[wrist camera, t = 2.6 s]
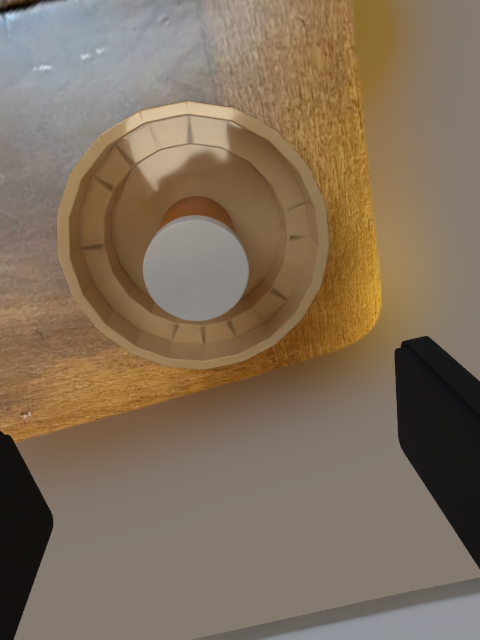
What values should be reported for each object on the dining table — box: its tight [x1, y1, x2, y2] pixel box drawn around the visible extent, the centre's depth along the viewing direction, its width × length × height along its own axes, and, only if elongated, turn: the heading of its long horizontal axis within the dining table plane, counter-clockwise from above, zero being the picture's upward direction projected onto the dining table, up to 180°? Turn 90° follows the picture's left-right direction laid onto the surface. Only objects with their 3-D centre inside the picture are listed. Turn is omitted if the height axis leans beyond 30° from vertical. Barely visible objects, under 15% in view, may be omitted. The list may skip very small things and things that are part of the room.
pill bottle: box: [143, 196, 249, 321], centre depth 23 cm, size 5×5×8 cm
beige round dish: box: [57, 101, 330, 369], centre depth 25 cm, size 14×14×5 cm
